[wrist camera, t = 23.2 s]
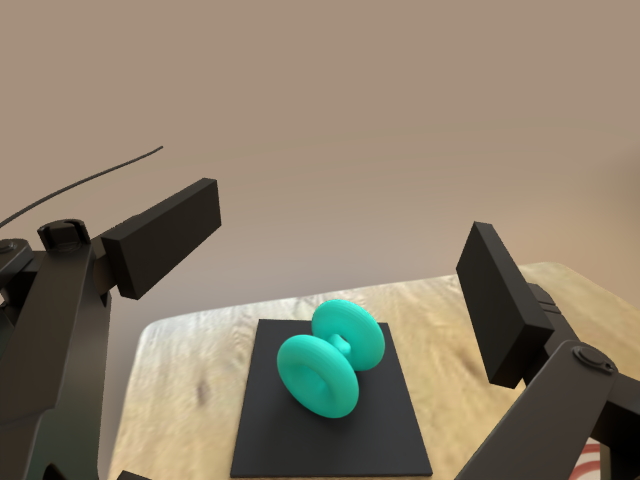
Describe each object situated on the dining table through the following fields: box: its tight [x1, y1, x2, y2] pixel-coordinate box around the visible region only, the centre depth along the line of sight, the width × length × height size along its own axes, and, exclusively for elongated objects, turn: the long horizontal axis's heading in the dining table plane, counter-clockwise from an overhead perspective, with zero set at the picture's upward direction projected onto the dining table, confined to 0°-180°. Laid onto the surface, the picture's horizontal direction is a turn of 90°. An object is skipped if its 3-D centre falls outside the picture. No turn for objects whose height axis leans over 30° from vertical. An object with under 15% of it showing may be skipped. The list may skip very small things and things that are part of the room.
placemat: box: [230, 319, 433, 478], centre depth 38 cm, size 20×20×1 cm
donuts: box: [277, 299, 385, 418], centre depth 35 cm, size 10×10×10 cm
